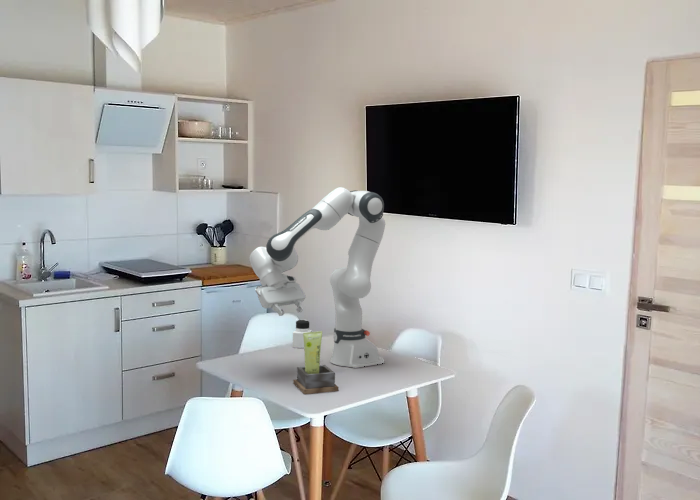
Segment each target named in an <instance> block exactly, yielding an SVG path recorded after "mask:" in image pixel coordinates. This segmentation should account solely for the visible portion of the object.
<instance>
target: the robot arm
mask: <svg viewBox="0 0 700 500" xmlns="http://www.w3.org/2000/svg"><path fill="white" fill-rule="evenodd" d="M384 209H385V203H384V200H383V198H382V196H380V195H379V194H378V193H376V192H373V191H368V190H349V189H347V188H345V187H343V186H339V187H336V188H334V189H333V190H332V191H330V192H329V193H327V194H326V195H325V196H324V197H323V198H322V199H320V201H319V202H317V203H316V204H315V206H313V207H312V208H311V209H309V210H307V211H306V212H305V213H303V214H301V216H299V217H298V218H297V219H296V220H295V221H294V222H292V223H291V224H290V225H289V226H288V227H286V228H285V229H283V230H282V231H280V232H278V233H276V234H273V235H272V236H271V237H270V238H269V239H268V240H267V242H266V246H258V247H256V248H255V249H253V251H251V253H250V254H249V259H248V260H249V263H250V266H251V269H252V270H253V272H254V274H255V275H256V276H257V277H258V279H259V281H260V284H261V285H258V286H256V288H255V293H256V294H257V297H258V300H259V303H260V306H262V308H264V309H272V311H274V312H275V313H277V314H278V316H279V317H280V316H284V315H285V311H284V310H283V308H282V309H281V308H280V307H282V306H283V307H284V306H290V305H295V306H296V309H295V310H296V311H297V313H302V312H303V309H304V308H303V306H302V303H303V302H304V300H305V299H306V298H307V297H306V293H305V292H304V290H303V288H302V286H301V285H300V284H299V283H298V282H297V279H296V277H295V276H292V275H287V274H284V273H285V272H287V271H290V270H292V269H293V268H295V267H296V266H297V264H298V262H299V256H298V253H297V250H296V249H295V246H296V244H297V242H298V241H299V240H301V239H302V237H304V236H305V235H306V234H307V233H309V232H310V231H311V230H315V229H317V230H320V231H328V230H330V229H332V228H334V227H335V226H336V225H337V224H338V223H339V222H341V220H342V219H343V218H344V217H345V216H346V215H347V214H348V215H350V216H354V217H356V218H358V221H359V222H358V227H357V230H356V232H355V234H354V237H353V239H352V242H351V244H350V246H349V248H348V252H347V253H348V254H347V255H348V261H347V266H346V267H339V268H336V269H335V270H333V271H332V273H330V277H329V283H330V285H331V289H332V294H333V301H334V308H335V325H334V328H333V342H334V343H333V349H332V353H331V354H332V355H331V358H330V361H329V362H330V363H331V364H333V365H336V366H339V367H340V366H341V367H347V368H348V367H349V368H354V369H358V368H364V366H365V367H369V366H378V365H383V364H384V363H385V359H384V358H383V357H382V356H380V355H379V354H380V353H379V348H378V347H377V345H375V343H373V342H372V341H371V340H369V339H368V338H367V337H369V336H370V335H371V332H370V330H365V329H364V328H363V309H362V307H361V303H360V299H363V298H364V299H365V297H367V296H368V295H369V293H370V292H371V289H372V283H371V276H372V275H371V274H372V269H373V264H374V260H375V258H376V255H377V252H378V250H379V247H380V244H381V242H382V239H383V237H384V233H385V229H386V220H385V219H384V217H383V216H384ZM366 336H367V337H366ZM382 363H383V364H382ZM377 364H378V365H377Z"/></svg>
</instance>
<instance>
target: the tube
mask: <svg viewBox="0 0 700 500" xmlns="http://www.w3.org/2000/svg"><path fill="white" fill-rule="evenodd" d="M322 337H323V330H319V331H318V330H317V331H312V332H306V333H303V338H304V348H303V349H304V367H305V371H306V372H307V373H308V374H316V373H319V365H321V364H320V362H321V361H320V360H321V348H322V347H321V346H322V340H323V339H322Z"/></svg>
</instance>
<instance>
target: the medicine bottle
mask: <svg viewBox="0 0 700 500" xmlns="http://www.w3.org/2000/svg"><path fill="white" fill-rule="evenodd" d="M306 332H313V329H310V320H308V319H298V320H296V321H295V330H294V331H293V332H292V348H294V349H304V338H303V333H306Z"/></svg>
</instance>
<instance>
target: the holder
mask: <svg viewBox="0 0 700 500" xmlns="http://www.w3.org/2000/svg"><path fill="white" fill-rule="evenodd" d="M292 384H293V385H294V386H295V387H296V388H297V389H298V390H299V391H300V392H301V393H302V394H303V395H311V394H320V393H323V394H324V393H332V392H339V386H338V385H337V384H336V372H334V371H333V370H332V369H331V368H330V367H328V366H327V365H326V364H320V365H319V373H316V374H308V373H307V372H306V371H305V366H297V367H296V378H295V379H293V380H292Z"/></svg>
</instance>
